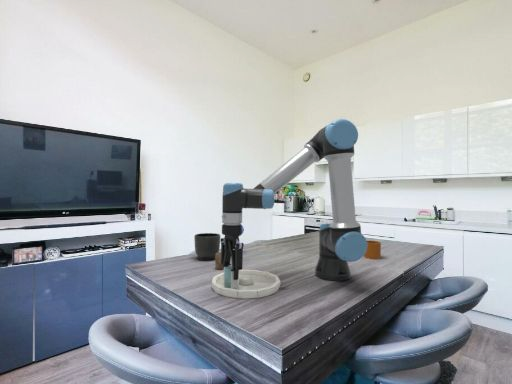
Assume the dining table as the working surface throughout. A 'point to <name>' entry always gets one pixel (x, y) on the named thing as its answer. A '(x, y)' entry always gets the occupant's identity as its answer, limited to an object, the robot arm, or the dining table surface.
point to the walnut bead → (218, 262)
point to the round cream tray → (248, 284)
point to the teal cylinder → (227, 277)
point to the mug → (373, 250)
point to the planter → (207, 245)
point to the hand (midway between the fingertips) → (230, 285)
